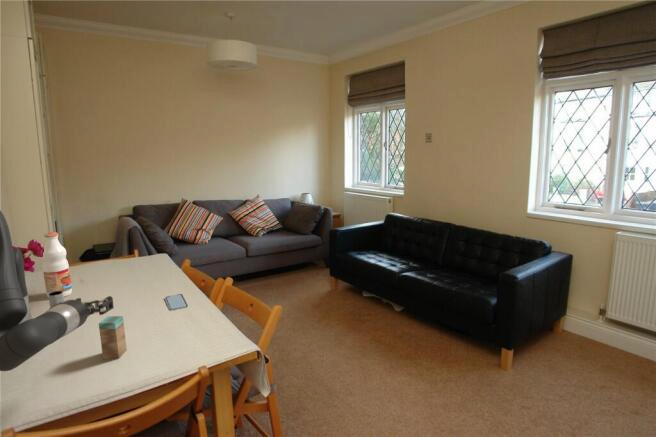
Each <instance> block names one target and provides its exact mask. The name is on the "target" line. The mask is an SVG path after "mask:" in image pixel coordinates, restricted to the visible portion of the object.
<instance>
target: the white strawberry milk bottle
mask: <svg viewBox="0 0 656 437" xmlns="http://www.w3.org/2000/svg"><path fill="white" fill-rule="evenodd" d="M44 239H45V244H44V247H43V249H44V253H43V257H41V259H42V261H43V263H42V273H43V279H44V286H45V292H46V296H47V298H48V299H49V296H48V294H49V293H51V292H55V291H62V292H63V298H64V297H68V296H69V295H71V294H72V293H73V286H72V280H71V279H72V278H71V274H70V265H69V262H68V259H67V249H66V248H65V247H64V246H63V245H62V244H61V243H60V241H59V233H58V232H55V231H54V232H46V233H44Z"/></svg>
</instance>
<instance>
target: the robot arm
mask: <svg viewBox="0 0 656 437" xmlns="http://www.w3.org/2000/svg"><path fill="white" fill-rule="evenodd" d="M113 299H114V298H113V297H112V296H111V295H108V296H107V297H104V298H103V299H100V300H98V299H93V300H89V301H83V302H82V299H81V297H79V298H78V297H77V298H76V299H69V300H68V299H67V300H64V302H61V303H58V304H57V305H55V306H53V307H51V308H50V307H49V308H48V309H47V310H46V311H44V312H43V313H42V314H40V315H38V316H36V317H34V318H33V317H32V312H31V311H32V310H31V305H30V298H29V293H28V287H27V282H26V275H25V263H24V257H23V254H22V251H21V249H19V248H17V247H16V248H15V247H13V241H12V236H11V232H10V229H9V225H8V222H7V220H6V217H5V215H4V214H3V212H2V211H1V210H0V372H8V371H12V370H14V369H15V368H18V367H19V366H21V365H22V364H23V363H26V361H28V360H29V359H30V358H33V357H34V356H36V354H38V353H39V352H40V351H42V350H44V349H45V348H46V347H48V346H50V345H51V344H54V343H55V342H57V341H58V340H60V339H62V338H64V337H66V336H68V335H69V334H71V333H72V332H74V331H75V330H77V329H78V328H79V327H81V326H83V325H84V324H85V323H86V321H87V319H88V317H90V316H91V315H95V314H99V316H100V315H101V316H103V315H104V314H106V313H108V312H109V311H111V310H113V309H114V300H113ZM93 304H94V305H93Z"/></svg>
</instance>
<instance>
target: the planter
mask: <svg viewBox="0 0 656 437" xmlns="http://www.w3.org/2000/svg"><path fill="white" fill-rule="evenodd" d="M48 296H49V298H48V303H49V309H50V308H51V307H53V306H55V305H57V304H58V303H61V302H65V299H64V297H63V292H62V291H55V292H51V293H49V294H48Z"/></svg>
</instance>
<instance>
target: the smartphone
mask: <svg viewBox="0 0 656 437" xmlns="http://www.w3.org/2000/svg"><path fill="white" fill-rule="evenodd" d="M164 300H165V302H166V305H167V307H168V310H169V311H170V312H171V311H172V310H173V311H177V309H178V310H182V308H183V309H187V308H189V304H188V302H187V301H186V298H185V297H184V294H183V293H178V294H174V295H168V296H165V297H164Z"/></svg>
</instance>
